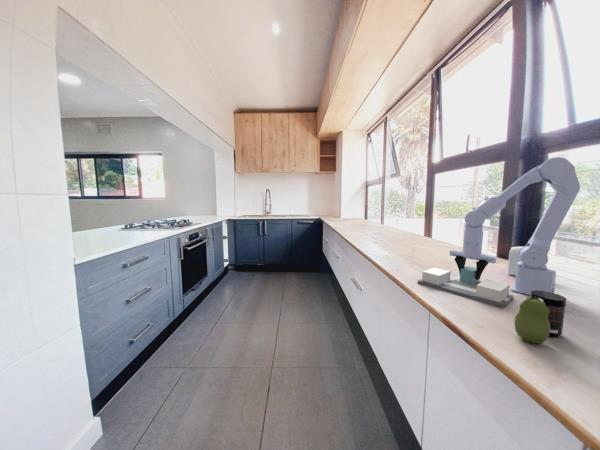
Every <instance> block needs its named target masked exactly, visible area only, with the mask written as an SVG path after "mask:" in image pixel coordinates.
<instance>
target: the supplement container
mask: <svg viewBox="0 0 600 450" xmlns="http://www.w3.org/2000/svg"><path fill="white" fill-rule="evenodd" d="M534 296H536V297H537V298H541V299H542V300H544V303H545V305H546V307H547V308H548V309H549V311H550V312H549V315H548V321H549V323H550V334H549V337H550V338H558V337H561V336H562V334H563V328H564V320H565V319H564V318H565V312H566V306H567V300H568V299H567V298H566V297H565V296H563V295H560V294H558V293H555V292H554V293H551V292H546V291H537V290H535V291H531V295H530V296H529V297H531V298H532V297H534ZM534 298H535V297H534ZM549 337H548V338H549Z"/></svg>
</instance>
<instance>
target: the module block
mask: <svg viewBox="0 0 600 450" xmlns="http://www.w3.org/2000/svg"><path fill="white" fill-rule="evenodd" d="M476 272H477V266H476V267H475V266H470V265H467V266H465V267H464V268H462V269H461V273H459V282H462V283H466V284H470V285H474V284H475V283H477V282H479V281H480V279H479V280H476Z"/></svg>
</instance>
